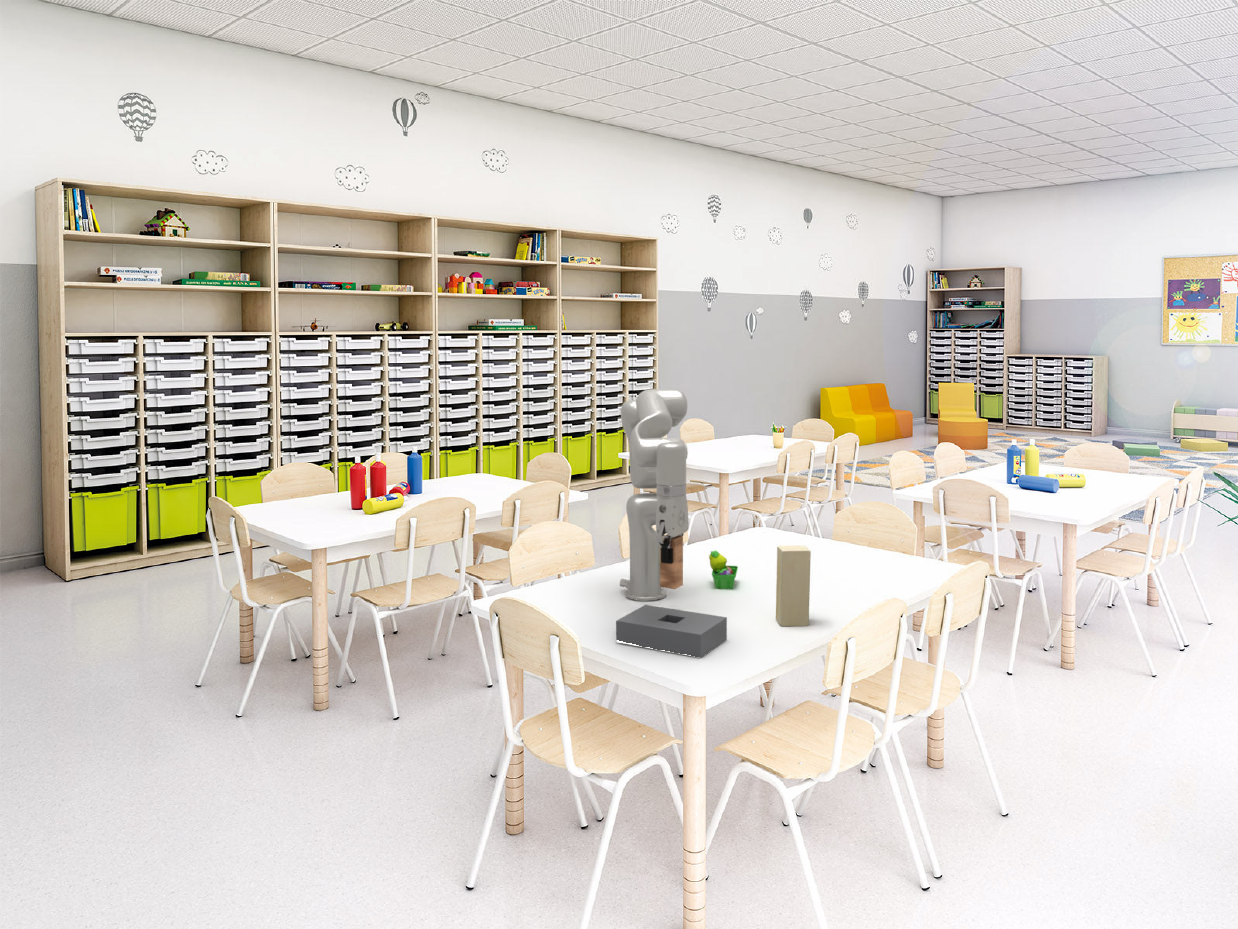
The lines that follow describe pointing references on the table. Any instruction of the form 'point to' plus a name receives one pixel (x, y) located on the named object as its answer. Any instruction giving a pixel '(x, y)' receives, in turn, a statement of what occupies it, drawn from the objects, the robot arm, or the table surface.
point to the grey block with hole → (672, 630)
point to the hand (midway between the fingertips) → (671, 560)
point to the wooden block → (673, 566)
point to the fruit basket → (722, 571)
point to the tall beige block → (793, 585)
